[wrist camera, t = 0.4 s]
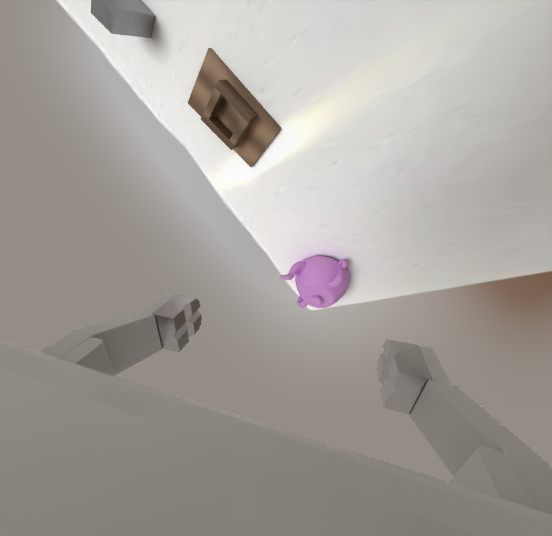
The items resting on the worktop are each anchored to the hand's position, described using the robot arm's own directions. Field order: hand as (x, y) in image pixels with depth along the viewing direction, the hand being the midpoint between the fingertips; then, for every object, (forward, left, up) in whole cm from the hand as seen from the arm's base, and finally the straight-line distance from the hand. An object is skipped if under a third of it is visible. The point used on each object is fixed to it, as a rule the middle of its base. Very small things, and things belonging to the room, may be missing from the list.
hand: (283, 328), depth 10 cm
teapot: (+33, +25, -51) cm, 66 cm away
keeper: (+18, -21, -51) cm, 58 cm away
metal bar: (+18, -45, -51) cm, 70 cm away
